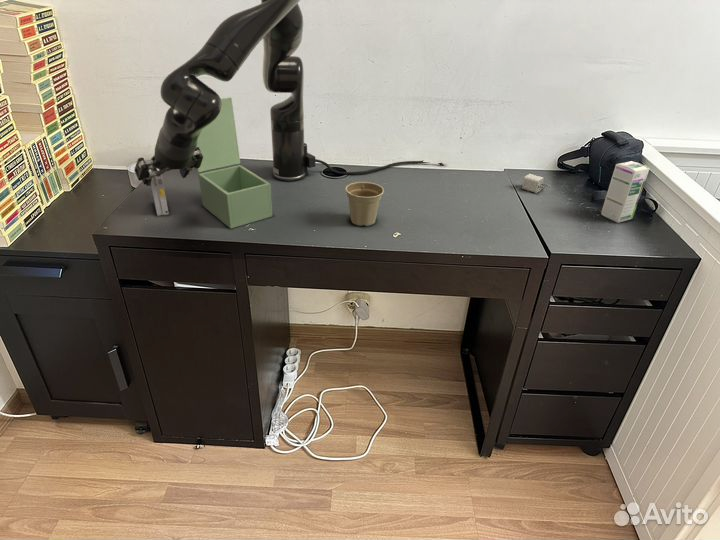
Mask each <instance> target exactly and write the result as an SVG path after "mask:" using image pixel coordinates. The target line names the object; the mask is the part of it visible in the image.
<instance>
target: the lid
mask: <svg viewBox="0 0 720 540" xmlns="http://www.w3.org/2000/svg"><path fill="white" fill-rule="evenodd" d="M232 98H233V97H223V98H221V102H222V108H221V112H220V114H219V115H218V117H217V118H216V119H215V120H214V121H213V122H212V123H210V124H209V125H208V126H206V127H205V128H203V129H202V131H201V133H200V135H199V138H198V141H197V146H196V147H199V148H200V151H201V153H202V155H203V160H202V163H201V166H200V167H199V168H197V169H196V171H197V173H203V172H208V171H213V170H217V169H222V168H227V167H231V166H236V165H240V164H241V157H240V151H239V143H238V136H237V127H236V120H235V114H234V105H233V99H232Z"/></svg>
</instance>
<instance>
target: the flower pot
mask: <svg viewBox="0 0 720 540" xmlns="http://www.w3.org/2000/svg"><path fill="white" fill-rule="evenodd" d="M344 191H345V192H346V195H347V198H348V206H349V216H350V222H351V223H352V224H353V225H355V226H359V227H361V226H365V227H369V226H371V225H374V224H375V223H376V221H377V220H376V219H377V214H378V210H379V206H380V201H381V199H382V196H383V195H384V193H385V189H384V187H383V186H382V185H380V184H378V183H376V182H375V183H374V182H371V181H355V182H352V183H349V184H347V185H346V186H345V190H344Z"/></svg>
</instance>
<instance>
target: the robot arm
mask: <svg viewBox="0 0 720 540" xmlns="http://www.w3.org/2000/svg"><path fill="white" fill-rule="evenodd" d="M300 1H301V0H260V3H259V4H257V5H254V6H252V7H250V8H247V9H244V10H241V11H238V12H236V13H234V14H232V15H230V16H228V17H226V18H225V19H224V20H223V21H222V22H221V23H220V24H219V25H218V26H217V27H216V28H215V30H214V31H213V32H212V34H211V35H210V36H209V38H208V39H207V41H206V42H204V43H205V44H203V46H201V48H200V49H199V50H198V51H197V52H196V53H195V54H194V55H193V56H192V57H191V58H190V59H188V60H187V61H185V63H182V64H181V65H180V66H178V67H177V68H175V69H174V70H173V71H171V72H170V73H169V74H168V75H167V76H166V77H165V78H164V79H163V80H162V83H161V85H160V98H161V100H162V101H163V102H164V103H165V104H166V105H167V106H169V107H168V109H167V111H166V112H165V115H164V119H163V123H162V126H161V128H160V129H159V133H158V135H157V139H156V143H155V145H154V155H152V157H151V158H150V159H146V160H145V157H138V158H137V161H136V163H135V166H134V169H133V171H134V174H135V175H136V178H137V180H138V181H142V184H143V185H146V187H149V186H150V184H151V181H152V178H153V177H155V176H160V175H161V174H162V175H163V174H164V173H166V172H170V171H171V170H173V171H174V170H179V174H180V176H181V178H182V179H186V178H187V176H188V175H189V174H190V172H191V171H193V168H195V170H197V168H199V167H200V166H201V163H202V160H203V155H202V153H201V151H200V148H199V147H196V146H197V141H198V138H199V135H200V133H201V131H202V129H203V128H205V127H206V126H208V125H209V124H210V123H212V122H213V121H214V120H215V119H216V118H217V117H218V115H219V114H220V112H221V108H222V102H221V99H222V98H221V96H220V95H219V93H217V92H216V90H214V89H213V88H211V87H210V86H209V85H207V84H206V83H205V82H203V81H201V79H199V78H198V77H200V76H208V77H209V76H210V77H212V78H214V79H216V80H219V81H221V82H224V83H227V82H230V81H231V80H232V79H233V78H234V77H235V75H236V74H237V73H238V72H239V71H240V68H241V67H242V66H243V64H244V63H245V62H246V60H247V59H248V58H249V56H250V55H251V53H252V52H253V51H254V50H255V48H256V46H258V45H259V44H260V42H261V41H262V46H263V54H262V55H263V57H262V70H261V71H262V72H261V73H262V82H263V85H264V88H265V89H266V90H267V91H268V92H269V93H273V94H290V95H289V97H288V98H286V99H285V100H282V101H281V102H277V103H275V104H274V105H272V106H271V107H270V111H269V114H270V116H269V117H270V133H271V149H272V172H273V173H272V175H273V177H274V178H275V179H277V180H279V181H284V182H293V181H298V180H301V179H304V178H305V176H308V175H309V171H308V169H312V168H315V167H316V163H319V164H322V165H323V166H325V167H326V168H327V169H328V170H329V171H330V172H332V173H335V174H337V175H345V176H349V175H350V176H352V175H365V174H369V173H373V172H378V171H381V170H385V169H388V168H391V167H394V166H399V165H408V164H412V165H413V164H428V163H429V162H423V161H424V160H405V161H397V162H392V163H389V164H386V165H383V166H380V167H375V168H371V169H367V170H360V171H339V170H336V169H333V168H332V167H331V166H330V165H329V164H328V163H327V162H325V161H323V160H321V159H316V155H313V154H311V153H309V152H308V144H307V143H306V142H305V122H304V121H305V119H304V118H305V117H304V82H305V81H304V80H305V79H304V78H305V77H304V75H305V71H304V63H303V60H302V58H301V57H300V56H296V55H293V54H295V52H296V51H297V50H298V49H299V47H300V46H301V43H302V41H303V32H304V17H303V13H302V10H301V7H300V5H299V2H300ZM437 164H438V165H440V167H445V164H444V163H443V162H441V163H437ZM150 169H151V171H152V173H151V174H150V173H149V170H150ZM157 169H159V171H158V170H157Z"/></svg>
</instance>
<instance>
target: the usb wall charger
mask: <svg viewBox="0 0 720 540" xmlns="http://www.w3.org/2000/svg"><path fill="white" fill-rule="evenodd" d="M544 181H545V178H544V177H543V176H539V175H535V174H532V173H528V174H527V175H525V176H524V178H523V182H522V185H521V186H522V187H521V190H525V191H528V192H531V193H534V194H538V193H539V192H540V191H541V190H545V191H547V190H548V189H550V188H551V185H549V184H545V183H544Z"/></svg>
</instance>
